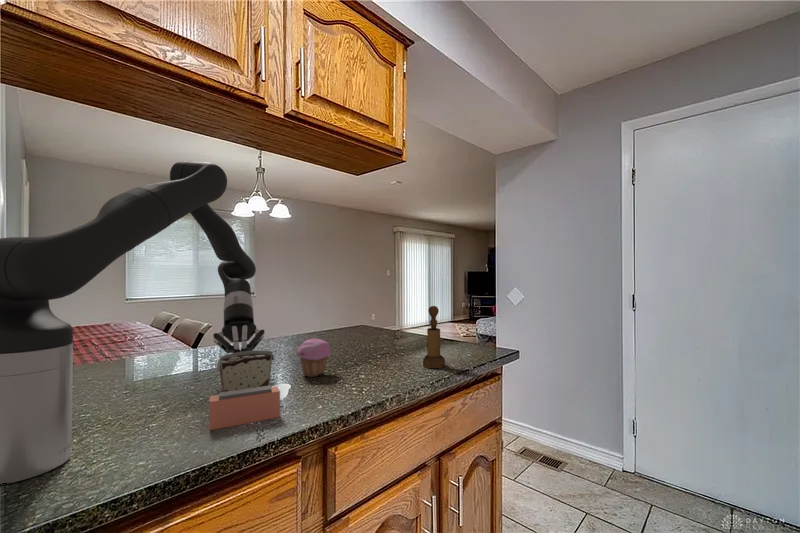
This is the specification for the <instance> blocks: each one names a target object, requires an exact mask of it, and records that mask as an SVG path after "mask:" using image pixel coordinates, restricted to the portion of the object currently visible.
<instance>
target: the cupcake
mask: <svg viewBox="0 0 800 533" xmlns="http://www.w3.org/2000/svg"><path fill="white" fill-rule="evenodd" d="M330 346H331V345H329V343H328V342H327V341H326V340H323V339H322V338H321V339H320V338H314V337H313V338H310V339H307V340H304V342H303V343H301V345H300V346H299V347H298V348H297V356H298V357H299V358H300V362H301V371H302V375H304V376H306V377H312V378H313V377H314V378H315V377H318V376H319V375H322V374H325V370H326V365H327V362H328V360H329V356H330V355H331V353H332V350H331V347H330Z"/></svg>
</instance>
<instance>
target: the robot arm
mask: <svg viewBox="0 0 800 533" xmlns="http://www.w3.org/2000/svg"><path fill="white" fill-rule="evenodd" d="M227 186H228V177H227V174H226V172H225V170H224V169H223V168H222V167H220V166H219V165H217V164H215V163H212V162H208V161H191V160H190V161H189V160H187V161H185V160H181V161H176V162H175V163H174V164H173V165H172V166H171V167H170V171H169V180H168V181H167V180H166V181H159V182H153V183H149V184H144V185H141V186H137V187H134V188H131V189H128V190H126V191H125V192H122V193H119V194H118V195H115V196H113V197H111V198H109V199H108V200H107V201H106V202H105V203H103V205H102V207H100V209H99V212H98V214H97V216H96V217H95V218H93V219H92V220H90V221H88V222H86V223H84V224H82V225H79V226H78V227H77V226H76V227H74V228H72V229H69V230H67V231H64V232H61V233H57V234H52V235H47V236H46V235H45V236H16V237H12V236H11V237H2V238H0V484H1V483H7V484H11V483H16V482H20V481H24V480H29V479H31V478H34V477H38V476H40V475H43V474H45V473H48V472H50V471H51V470H54V469H56V468H58V467H60V466H62V465H63V464H64V463H66V462H67V461H68V460H70V458H71V456H72V444H73V443H72V427H73V426H72V420H73V416H72V415H73V414H72V412H73V369H74V368H73V367H74V366H73V363H74V359H73V358H74V356H73V355H74V354H73V353H74V343H73V342H74V329H73V326H72V324H70V323H68V322H66V321H64V320H62V319H61V318H59V317H57V316H56V315H55V314H54V313H53V312H52V310H51V308H50V301H51V300H58V299H62V298H65V297H67V296H70V295H72V294H75V293H76V292H77V291H78V290H80V289H82V288H83V287H84V286H85V285H87V284H88V283H89V282H90V281H92V280H93V279H95V277H97V276H98V275H99V274H101V273H102V272H103V271H104V270H105V269H106V268H108V267H109V266H110V265H112V263H114V262H115V261H116V260H117V259H119V258H120V257H122V256H123V255H125V254H127V253H128V252H129V251H130V252H131V250H133V249H134V248H136V247H138V246H140V245H141V244H142V243H144V242H146V241H147V240H149V239H151V238H153V237H154V236H155V235H157V234H160V233H161V232H162V231H164V230H166V229H167V228H169V226H172V224H174V223H176V222H178V220H180V219H182V218H184V217H185V216H187V215H189V214H190V215H191V216H192V217H193V218H194V220H195V221H196V223H197V224H198V225H199V226H200V228H201V229H202V231H203V232H204V234H205V236H206V238H207V240H208V241H209V243H210V245H211V248H212V249H213V252H214V254H215V256H216V257H217V259H218V260H219V261H222V262H220V263H219V265H218V267H217V273H218V276H219V278H220V280H221V282H222V285H223V289H224V301H223V326H222V328H221V331H219V332H215V333H213V336H212V337H213V342H214V343H215V344H216V345H217V346H218V347H220V348H221V349H222V350H223V351H224V352H225V353H226V354H232V353H237V352H244V351H254V350H255V348H256V347H257V346H258V345H259V344H260V342H261V341H262V340H263V339H264V338H265V329H258V328H257V325H256V324H255V318H254V304H253V300H252V290H251V284H250V282H249V281H248V280H249V279H252V278H253V277H254V276H255V275H256V264H255V262H254V261H253V259H252V258H251V257H250V256H249V255H248V254H247V253H246V252H245V251H244V250H243V247H241V244H240V241H239V239H238V237H237V235H236V233H235V231H234V229H233V227H232V226H231V225H230V224H229V223H228V222H227V221H226V220H225V219H223V217H221V216H220V215H219V214H218V213H217V212H216V211H215V210H214V209H213V208H212V207H211V206H210V205H209V204H210V203H213V202H215V201H218V200H219V199H220V198H221V197H222V196H223V195H224V193H225V192H226V189H227ZM253 335H254V337H253ZM252 337H253V338H252ZM225 338H226V339H227V340H228V341H229V342H228V341H227V340H226V339H225ZM250 339H251V340H250ZM249 340H250V341H249ZM248 341H249V343H247V342H248ZM231 343H232V344H231ZM240 343H241V347H240ZM1 485H2V484H1Z"/></svg>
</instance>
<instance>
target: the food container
mask: <svg viewBox="0 0 800 533" xmlns="http://www.w3.org/2000/svg"><path fill="white" fill-rule="evenodd" d="M274 355H275V354H273V351H271V350H253V351H244V352H237V353H227V354H225V355H222V356H220V357H219V359H218V361H217V364H216V369H215V370H216V371H217V372H219V376H220V383H221V385H220V386H221V392H228V391H235V390H242V389H249V388H255V387H262V386H269V385H270V381H271V371H272V363H273V362H272V361H275V356H274Z"/></svg>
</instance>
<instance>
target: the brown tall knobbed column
mask: <svg viewBox="0 0 800 533" xmlns="http://www.w3.org/2000/svg"><path fill="white" fill-rule="evenodd" d="M439 313H440V312H439V307H438V306H436V305H432V306H429V308H428V314H429V315H430V321H429V324H430V327H429V328H427V331H426V333H427V334H426V336H427V337H426V339H427V345H426V346H427V351H426V353H427V354H426V355H425V356H424V357H423V358H422V360H423V361H422V366H423V367H424V368H426V369H430V368H439V369H442V367H443V368H445V367H444V366H446V359H445V357H443V355H441V328H437V327H438V320H437V316H438V314H439Z"/></svg>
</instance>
